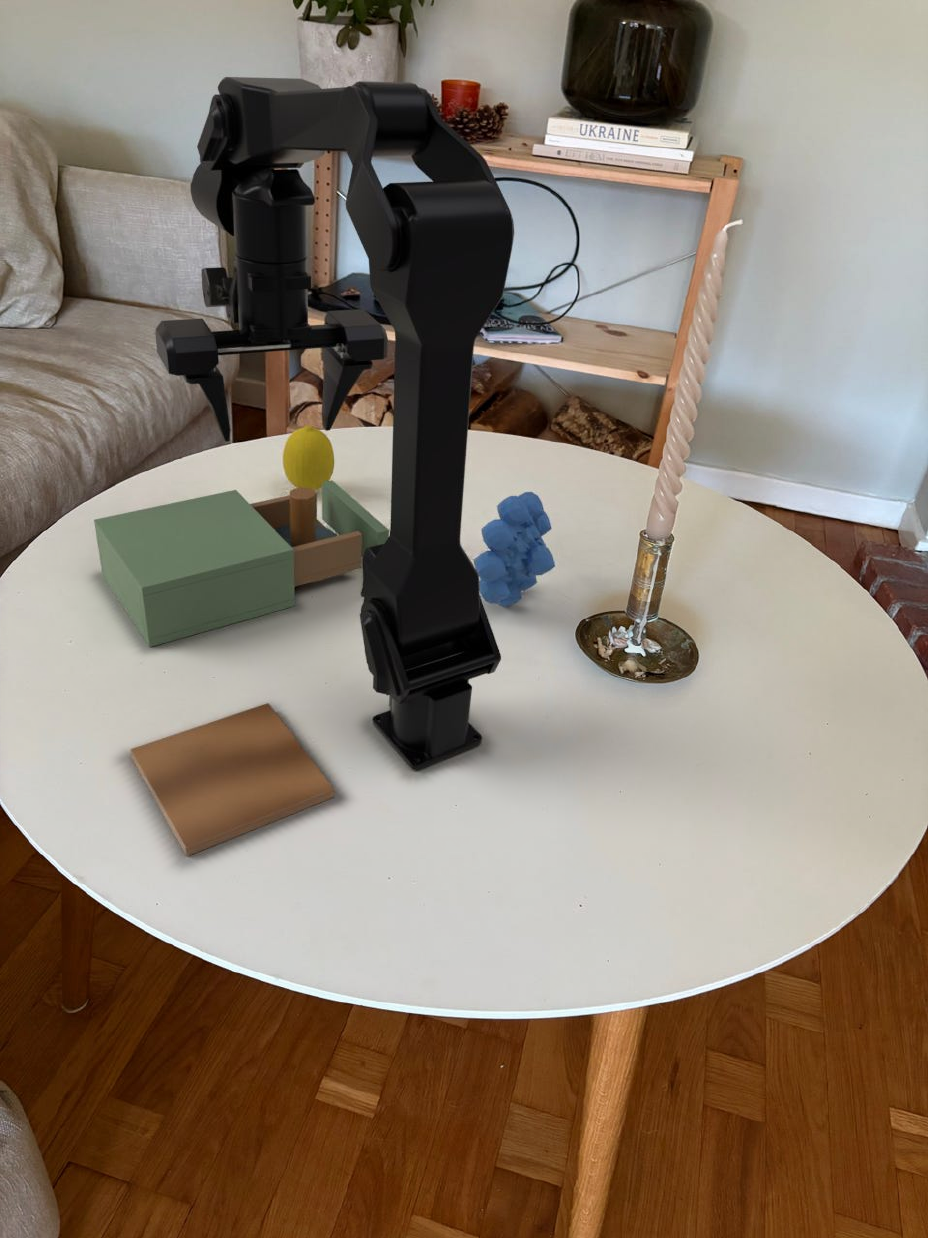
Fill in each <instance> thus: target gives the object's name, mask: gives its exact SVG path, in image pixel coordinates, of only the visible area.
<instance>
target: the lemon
mask: <svg viewBox="0 0 928 1238" xmlns="http://www.w3.org/2000/svg"><path fill="white" fill-rule="evenodd" d="M282 466H283V470H284V474H285V477H286V478H287V479H288V481H289V482H290V483H291V485H292V486H294V487H295V488H301V487H303V488H309V489H312V490H314V491H317V490H320V489H322V482H327V481H331V478H332V476H333V473H334V470H335V469H334V468H335V454H334V449H333V445H332V442H331V440H330V439H329V437H328V435H326V434H325V433H324V432H323V431H322V430H320V429H318V428H315V427H313V426H312V425H307V424H306V425H305V426H304V427H301V428H298V429H296V430H295V431H293V432H291V434H290V435H288V438H287V439H286V442H285V445H284V448H283V453H282Z"/></svg>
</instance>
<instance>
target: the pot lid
mask: <svg viewBox="0 0 928 1238" xmlns="http://www.w3.org/2000/svg"><path fill="white" fill-rule="evenodd" d="M314 491H315V490H314ZM314 491H313V490H312V489H309V488H303V487H301V488H297V487H295V488H292V489H291V490H289V494H288V495H289V499H290V525H286V526H282V527H280V528H278V529H276V530H275V531H276V532H277V533H278V534H279V535H280V536H281V537H282V538H283V539H284V540H285V541H286V542H287V543H288V544H289V545H290V546H291V547H296V546H300V545H304V544H308V543H312V542H315V541H319V540H323V539H327V538H331V537H335V536H338V534H337V533H336V532H335V531H334V530H332V529H331V528H328V527H326V526H325V527H323V526H320V525H315V492H316V491H315V492H314Z"/></svg>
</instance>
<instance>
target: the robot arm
mask: <svg viewBox="0 0 928 1238" xmlns="http://www.w3.org/2000/svg"><path fill="white" fill-rule="evenodd" d="M217 91H218V93H219V94H216V93H215V94H214V95H213V96H212V98H211V101H210V105H209V110H208V114H207V117H206V119H205V123H204V126H203V128H202V131H201V134H200V137H199V139H198V143H197V146H196V148H197V151H198V155H199V164H198V166H197V167H196V169H195V171H194V173H193V175H192V179H191V182H190V185H189V186H190V187H189V188H190V195H191V200H192V202H193V205H194V207H195V209H196V210H197V211H198V212H199V214H200V215H201V216H202V217H204V218H205V219H206V220H207V221H209V222H210V223H212V224H213V225H214V226H217V227H218V228H219V229H221V230H222V231H224V232H226V233H227V234H229V235H230V236H232V237H234V253H235V254H234V256H235V258H233V276H232V277H228V272H227V269H226V267H224V266H223V267H222V266H221V267H203V268H201V270H200V271H201V289H202V290H201V291H202V296H203V297H202V298H203V303H204V306H205V308H219V307H223V308H224V307H225V312H226V318H227V319H228V318H230V321H231V322H232V324H233V325H238V329H232V330H231V329H230V330H214V331H213V330H211V328H210V327H209V326H208V324H207V323H206V321H205V320H204V319H203V318H201V317H200V318H187V319H185V318H184V319H169V320H167V319H166V320H161V321H160V322H159V323H158V325H157V327H156V328H155V332H154V336H155V344H156V353H157V355H158V357H159V358H160V360H161V362H162V364H163V366H164V368H165V369H166V371H167V373H168V375H171V376H172V375H173V376H175V377H176V376H177V377H179V376H182V378H183V379H184V381H185V382H186V383H187V384H189V385H199V387H200V389H201V390H202V392H203V395H204V396H205V398H206V401H207V404H208V406H209V408H210V410H211V412H212V415H213V417H214V420H215V422H216V425H217V427H218V429H219V432H220V434H221V437H222V439H223V441H224V442H226V443H227V442H230V441H231V425H230V424H231V423H230V417H229V409H228V402H227V394H226V388H225V379H224V375H223V374H222V372H221V371H220V369H219V367H217V366H218V365H219V364H220V361H219V356H229V355H244V354H256V353H269V352H270V353H271V352H286V351H298V350H311V349H313V350H314V349H321V351H322V358H323V367H324V369H323V370H324V372H323V382H322V383H323V384H322V386H323V387H322V399H321V422H322V423H321V424H322V428H323V429H324V431H326V432H329V431H331V429H332V428H333V425H334V423H335V421H336V420H337V417H338V415H339V414H340V411H341V410H342V407H343V405H344V403H345V401H346V399H347V397H348V395H349V393H351V391H352V389H353V387H354V385H356V383H357V381H358V379H359V378H360V377H361V375H362V373H363V372H364V371H367V370H372V369H373V368H374V367H373V366H374V362H373V361H381V360H385V359H386V358H388V347H389V346H388V342H389V338H388V333H387V330H386V329H385V328H384V326H383V325H382V324H381V323H380V322H379V321H378V320H376V319H375V318H374V317H373V316H372V315H370V314H369V312H367V311H366V310H365V309H364V308H360V309H344V310H343V309H342V310H341V309H340V310H327V312H326V313H325V315H324V323H323V324H309V293H308V292H309V291H308V290H312V275H310V273H308V207H307V206H309V207H310V206H314V205H315V203H316V197H315V195H314V193H313V190H312V189H311V187H310V186H309V185H308V184H307V183H306V182H305V181H304V180H303V178H302V176H301V174H300V171H299V169H301V168H302V167H303V166H304V164H306V163H310V162H312V161H314V160H317V159H319V158H322V157H324V155H325V154H326V152H345V153H346V154H347V156H348V159H349V161H350V163H351V166H352V168H351V172H350V178H349V181H348V182H349V183H348V188H347V193H346V199H345V210H346V211H347V214H348V216H349V219H350V221H351V223H352V225H353V228H354V230H355V232H356V235H357V236H358V238H359V241H360V243H361V245H362V248H363V250H364V252H365V255H366V257H367V259H368V271H369V286H370V289H371V291H372V293H373V295H374V297H375V298H376V300H377V302H378V304H379V305H380V307H381V309H382V311H383V312H384V314H385V316H386V317H387V319H388V321H389V323H390V324H391V326H392V328H393V331H394V338H395V339H394V371H393V372H394V373H393V375H394V376H393V409H392V410H393V412H392V413H393V415H392V453H391V488H390V489H391V491H390V497H391V498H390V523H389V524H390V526H389V527H390V528H389V529H390V530H389V537H388V539H387V540H386V542H385V543H384V544H380V545H376V546H372V547H368V548H366V550H365V552H364V555H363V557H361V568H362V587H361V590H360V597H361V598H363V602H362V604H361V608H360V613H359V619H360V621H359V622H360V627H361V633H362V640H363V647H364V654H365V660H366V661H365V662H366V664H367V669H368V671H369V673H370V674H371V675H372V689H373V690H374V691H375V692H376V693H377V694H381V695H386V696H388V700H389V701H388V707H389V710H387V711H384V712H381V713H379V714H376V715H374V716H373V717H372V725H373V727H375V729H376V730H377V731H378V732H379V734H380V735H381V736H382V737H383V738H384V740H386V741H387V743H388V744H389V745H390V747H392V748H393V750H394V751H395V752H396V753H397V754H398V755H399V757H400V758H401V759H402V760H403V761H404V762H405V764H406V765H407V766H408V767H409V768H410V769H411V770H414V771H419V770H421V769H423V768H427V767H428V766H431V765H433V764H436V763H438V762H441V761H443V760H446V759H448V758H451V757H453V756H456V755H458V754H460V753H463V752H465V751H467V750H470V749H472V748H476V747H478V746H479V745H481V744H482V742H483V736H482V735H481V734H480V732H479V731H478V730H477V729H476V728H475V727H474V726H473V725H472V724H471V723H470V722H469V719H470V711H471V703H472V702H471V701H472V692H473V686H472V685H471V683H470V680H471V679H474V678H477V677H480V676H483V675H490V674H493V673H495V672H496V670H497V668H498V666H499V664H500V662H501V661H502V655H501V652H500V649H499V645H498V644H497V640H496V638H495V634H494V632H493V629H492V626H491V623H490V620H489V617H488V615H487V612H486V610H485V605H484V603H483V600H482V596H481V593H480V590H479V581H480V577H479V574H478V572H477V571H476V569H475V565H474V563H473V562H472V561H471V559H470V558H469V556H468V555H467V553H466V551H465V549H464V548H463V547H462V543H461V534H462V533H461V531H462V518H463V504H464V492H465V491H464V490H465V489H464V488H465V475H466V461H467V448H468V433H469V420H470V407H471V395H472V394H471V393H472V379H473V364H474V351H475V343H476V340H477V338H478V336H479V334H480V333H481V331H482V329H484V326H485V325H486V324H487V322H488V320H489V319H490V318H491V315H492V314H493V312H494V311H495V310H496V308H497V306H498V305H499V303H500V302H501V300H502V299H503V296H504V293H505V287H506V284H507V283H506V282H507V277H508V272H509V267H510V261H511V256H512V252H513V245H514V238H515V222H514V218H513V214H512V212H511V209H510V207H509V205H508V202H507V200H506V199H505V196H504V194H503V193H502V191H501V188H500V186H499V184H498V183H497V181H496V179H495V176H494V174H493V172H492V170H491V168H490V166H489V164H488V162H487V160H486V159H485V157H484V156H483V155H482V154H481V153H480V152H479V151H478V150H476V149H475V148H474V147H473V146H472V144H470V143H469V142H468V141H467V140H466V139H464V138H463V137H462V136H461V134H459V133H458V132H457V131H455V130H454V129H453V128H452V127H451V126H450V125H449V124H448V123H447V122H446V121H444V119H443V118H442V116H441V114H440V113H439V111H438V108H437V106H436V103H435V101H434V100H433V98H432V96H431V95H430V92H428V90H427V89H426V88H424V87H420V86H418V85H417V84H416V83H414V82H411V81H407V82H405V81H404V82H403V81H362V80H359V81H356V82H355V83H353V84H352V85H348V86H343V87H342V86H341V87H329V88H327V87H326V88H322V87H321V86H320V85H319V84H316V83H314V82H311V81H309V80H307V79H303V78H293V77H291V78H288V77H247V76H246V77H245V76H241V77H239V76H225V77H223V78H222V79H221V80H220V82H219V84H218V85H217ZM373 157H374V158H376V157H378V158H380V157H381V158H382V157H411V159H412V161H413V163H414V165H415V166H416V167H417V168H418V169H419V171H421V172H422V173H423V174H424V175H425V176H427V177H428V178H429V180H431V181H407V182H389V183H388V184H386V185H385V186H384V187H383V185H382V183H381V181H380V179H379V177H378V175H377V172H376V170H375V168H374V165H373V163H372V160H373Z"/></svg>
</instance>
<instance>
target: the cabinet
mask: <svg viewBox="0 0 928 1238" xmlns="http://www.w3.org/2000/svg"><path fill="white" fill-rule="evenodd" d="M250 504H251V503H249V502H248V500H247V499H246V498H245V497H243V495H242V494H240V492H239V491H238V490H237V489H233V490H228V491H222V492H218V493H213V494H209V495H205V496H200V497H199V496H198V497H195V498H190V499H185V500H180V501H176V502H172V503H170V502H169V503H166V504H162V505H156V506H152V507H146V508H143V509H139V510H138V509H137V510H133V511H128V512H124V513H119V514H114V515H109V516H105V517H104V516H103V517H100V518H95V519H93V523H94V531H95V536H96V542H97V549H98V550H97V551H98V556H99V561H100V568H101V574H102V578H103V579H104V581H105V582H106V583H107V586H108V587H109V588H110V590H111V591H112V593H113V595H115V597H116V598H117V600H118V602H119V604H120V605H121V607H122V608H123V609H124V610H125V612H126V614H127V615H128V617H129V618H130V620H131V621H132V623H133V625H134V626H135V628H136V629H137V631H138V633H140V635H141V637H142V639H143V640H144V641H145V643H146V644H147V646H148V647H149V648H153V647H156V646H160V645H163V644H167V643H170V642H173V641H177V640H181V639H184V638H187V637H191V636H194V635H197V634H201V633H204V632H209V631H212V630H216V629H218V628H222V627H226V626H229V625H233V624H237V623H241V622H243V621H246V620H250V619H255V618H258V617H261V616H264V615H268V614H271V613H276V612H278V611H282V610H285V609H289V608H292V607H295V606H296V603H295V602H296V601H295V600H296V599H295V597H296V596H295V587H294V549H293V548H292V547H291V546H290V545H289V544H288V543H287V542H286V541H285V540H284V539H283V538H282V537H281V536H280V535H279V534H278V533H277V532H276V531H275V530H274V529H273V528H272V527H271V526H270V525H269V524H268V523H267V521H266V520H265V519H264V518H263V517H262V516H261V515H260V514H259V513H258V512H257V511H256V510H255V509H254V508H253V507H252V506H251V505H250Z"/></svg>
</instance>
